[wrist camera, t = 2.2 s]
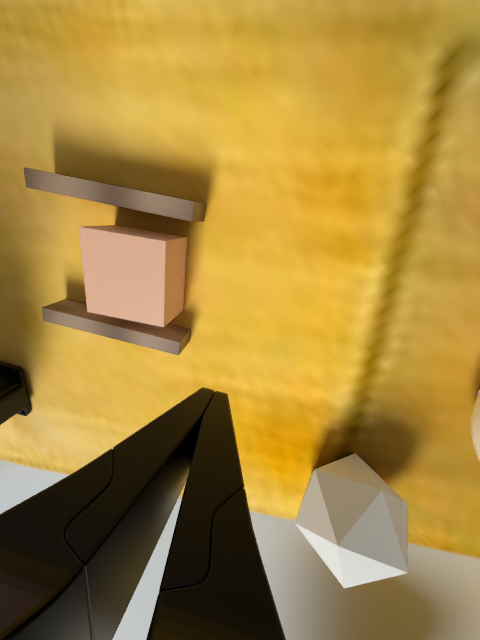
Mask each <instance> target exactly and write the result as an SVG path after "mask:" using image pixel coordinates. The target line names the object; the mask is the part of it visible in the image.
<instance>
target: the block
mask: <svg viewBox="0 0 480 640" xmlns="http://www.w3.org/2000/svg"><path fill="white" fill-rule="evenodd" d="M79 235H80V245H81V255H82V265H83V275H84V284H85V294H86V304H87V312H91V313H96V314H101V315H106V316H110V317H115V318H120V319H125V320H130V321H135V322H140V323H145V324H150V325H155V326H159V327H165V326H166V325H167V324H168V323H169V322H170V321H171V320H173V319H174V318H175V317H176V316H177V315H178V314H179V313H180V312H182V311H183V307H184V288H185V270H186V252H187V237H184V236H177V235H171V234H165V233H159V232H153V231H147V230H141V229H135V228H129V227H122V226H116V225H108V226H84V227H79Z"/></svg>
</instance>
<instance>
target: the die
mask: <svg viewBox="0 0 480 640" xmlns="http://www.w3.org/2000/svg"><path fill="white" fill-rule="evenodd" d="M295 524H296V525H297V526H298V528H299V529H300V530H301V532H302V533H303V534H304V536H305V537H306V538H307V540H308V541H309V542H310V544H311V545H312V546H313V548H314V549H315V550H316V551H317V553H318V554H319V555H320V557H321V558H322V559H323V561H324V562H325V563H326V565H327V566H328V567H329V569H330V570H331V571H332V573H333V574H334V575H335V576H336V578H337V579H338V580H339V582H340V583H341V584H342V586H343V587H344V588H347V587H352V586H356V585H360V584H364V583H368V582H372V581H377V580H381V579H384V578H389V577H393V576H397V575H402V574H406V573H408V504H407V503H406V502H405V501H404V500H403V499H402V498H401V497H400V496H399V495H398V494H397V493H396V492H395V491H394V490H393V489H392V488H391V487H390V486H389V485H388V484H387V483H386V482H385V481H384V480H383V479H382V478H381V477H380V476H378V475H377V474H376V473H375V472H374V471H373V470H372V469H371V468H370V467H369V466H368V465H367V464H366V463H365V462H364V461H363V460H362V459H361V458H360V457H359V456H358V455H357V454H356V453H355V454H352V455H350V456H347V457H345V458H342V459H340V460H337V461H334V462H332V463H329V464H327V465H324V466H322V467H319V468H317V469H315V470H314V471H313V472H312V473H311V476H310V479H309V482H308V485H307V488H306V491H305V494H304V497H303V500H302V503H301V506H300V509H299V512H298V515H297V518H296V521H295Z"/></svg>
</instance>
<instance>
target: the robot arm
mask: <svg viewBox="0 0 480 640" xmlns="http://www.w3.org/2000/svg"><path fill="white" fill-rule="evenodd" d="M30 412H31V411H30V405H29V400H28V394H27V389H26V383H25V378H24V372H23V370H22V369H21V368H19V367H16V366H13V365H9V364H6V363H2V362H0V425H1V424H2V423H4V422H5V421H6V420H8V419H9V418H11V417H12V416H13V415H15V414H20V415H23V416H27V415H28V414H29V413H30ZM186 480H187V481H186ZM185 482H186V485H185V489H184V493H183V497H182V502H181V506H180V509H179V513H178V517H177V522H176V526H175V529H174V533H173V537H172V542H171V545H170V549H169V553H168V557H167V561H166V565H165V569H164V574H163V577H162V582H161V586H160V591H159V595H158V598H157V601H156V605H155V609H154V613H153V617H152V621H151V624H150V628H149V632H148V636H147V639H146V640H286V638H285V635H284V632H283V629H282V626H281V622H280V619H279V616H278V612H277V609H276V606H275V602H274V599H273V596H272V592H271V589H270V586H269V583H268V580H267V576H266V573H265V570H264V566H263V563H262V560H261V556H260V552H259V549H258V545H257V542H256V538H255V534H254V530H253V527H252V522H251V518H250V513H249V508H248V503H247V498H246V492H245V489H244V482H243V476H242V471H241V465H240V460H239V454H238V449H237V443H236V438H235V432H234V427H233V421H232V415H231V410H230V404H229V399H228V395H227V394H226V393H223V392H219V391H216V392H214V390H211V389H208V388H201V389H199V390H198V391H196V392H195V393H193V394H192V395H190V396H189V397H188V398H186V399H185V400H183V401H182V402H180V403H179V404H177V405H176V406H174V407H173V408H171V409H170V410H168V411H167V412H165V413H164V414H162V415H161V416H159V417H158V418H156V419H155V420H153V421H152V422H150V423H149V424H147V425H146V426H144V427H143V428H141V429H140V430H138V431H137V432H135V433H134V434H132V435H131V436H129V437H128V438H126V439H125V440H123V441H122V442H120V443H119V444H117V445H116V446H114V448H113V449H110V450H108V451H107V452H105V453H104V454H102V455H101V456H99V457H98V458H96V459H95V460H93V461H92V462H90V463H88V464H87V465H85V466H84V467H82V468H81V469H79V470H77V471H76V472H74V473H72V474H71V475H69V476H67V477H66V478H64V479H62V480H61V481H59V482H57V483H55V484H54V485H52V486H50V487H48V488H47V489H45V490H43V491H41V492H40V493H38V494H36V495H34V496H32V497H30V498H29V499H27V500H25V501H23V502H21V503H20V504H18V505H16V506H14V507H13V508H11V509H9V510H7V511H5V512H4V513H2V514H0V640H112V639H113V637H114V635H115V632H116V630H117V628H118V626H119V624H120V622H121V619H122V617H123V615H124V613H125V611H126V609H127V607H128V605H129V603H130V600H131V598H132V596H133V594H134V592H135V590H136V587H137V585H138V583H139V581H140V579H141V577H142V575H143V572H144V570H145V568H146V566H147V564H148V562H149V560H150V557H151V555H152V553H153V551H154V549H155V547H156V544H157V542H158V540H159V538H160V536H161V534H162V531H163V530H164V527H165V525H166V523H167V521H168V519H169V517H170V514H171V512H172V510H173V508H174V506H175V504H176V502H177V499H178V497H179V495H180V493H181V491H182V489H183V487H184V484H185Z"/></svg>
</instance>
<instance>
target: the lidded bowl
mask: <svg viewBox="0 0 480 640" xmlns="http://www.w3.org/2000/svg"><path fill="white" fill-rule="evenodd" d="M470 429H471V437H472V441H473V445H474V449H475V452H476V454H477V457H478V459H479V461H480V388H479V390H478V393H477V396H476V401H475V403H474V406H473V409H472V413H471V425H470Z"/></svg>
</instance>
